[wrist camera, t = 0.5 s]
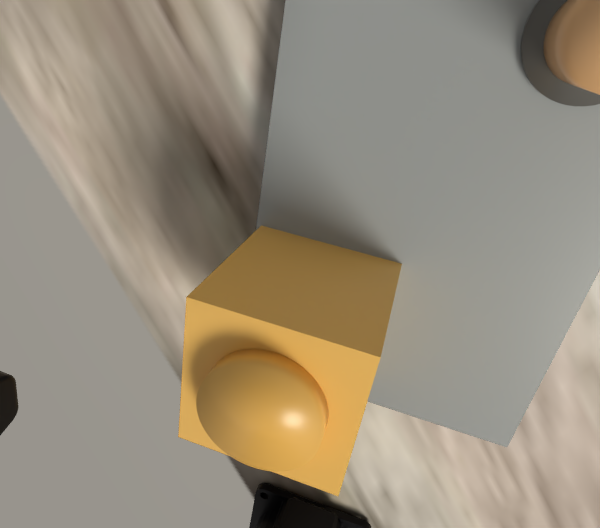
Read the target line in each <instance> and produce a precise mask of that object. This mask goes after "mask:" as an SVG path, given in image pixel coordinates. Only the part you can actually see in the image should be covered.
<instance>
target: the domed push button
mask: <svg viewBox="0 0 600 528" xmlns="http://www.w3.org/2000/svg"><path fill="white" fill-rule="evenodd" d="M401 266H402V264H401V263H398V262H394V261H390V260H387V259H383V258H379V257H376V256H372V255H368V254H365V253H361V252H357V251H353V250H350V249H346V248H342V247H339V246H335V245H331V244H328V243H324V242H320V241H317V240H313V239H309V238H306V237H302V236H298V235H295V234H291V233H287V232H284V231H280V230H276V229H273V228H269V227H265V226H262V225H261V226H260V227H259V228H258V229H257V230H256V231H255V232H254V233H253V234H252V235H251V236H250V237H249V238H248V239H247V240H246V241H245V242H244V243H242V244H241V245H240V246H239V247H238V248H237V249H236V250H235V251H234V252H233V253H232V254H231V255H230V256H229V257H228V258H227V259H226V260H225V261H224V262H223V263H222V264H221V265H220V266H218V267H217V268H216V269H215V270H214V271H213V272H212V273H211V274H210V275H209V276H208V277H207V278H206V279H205V280H204V281H203V282H202V283H201V284H200V285H199V286H198V287H197V288H195V289H194V290H193V291H192V292H191V293H190V294H189V295H188V296H187V297H186V314H185V331H184V349H183V366H182V383H181V400H180V417H179V418H180V419H179V434H178V437H180V438H182V439H185V440H188V441H191V442H193V443H196V444H199V445H201V446H204V447H207V448H209V449H212V450H215V451H218V452H221V453H223V454H225V455H228V456H231V457H232V458H234V459H235V460H237V461H239V462H241V463H243V464H246V465H248V466H251V467H254V468H257V469H261V470H266V471H271V472H274V473H277V474H279V475H282V476H285V477H287V478H290V479H293V480H296V481H298V482H301V483H304V484H306V485H309V486H312V487H314V488H317V489H320V490H322V491H325V492H328V493H331V494H333V495H336V496H339V492H340V489H341V486H342V483H343V479H344V476H345V473H346V469H347V466H348V463H349V460H350V456H351V453H352V450H353V447H354V443H355V440H356V437H357V433H358V430H359V427H360V424H361V420H362V417H363V414H364V411H365V407H366V404H367V401H368V397H369V394H370V391H371V388H372V384H373V381H374V378H375V375H376V371H377V368H378V365H379V361H380V358H381V354H382V350H383V345H384V341H385V336H386V332H387V328H388V323H389V319H390V314H391V310H392V306H393V301H394V297H395V292H396V288H397V284H398V279H399V275H400V271H401Z"/></svg>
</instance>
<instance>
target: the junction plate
mask: <svg viewBox="0 0 600 528" xmlns="http://www.w3.org/2000/svg"><path fill="white" fill-rule="evenodd" d="M261 225H262V226H265V227H269V228H273V229H276V230H280V231H284V232H287V233H291V234H295V235H298V236H302V237H306V238H309V239H313V240H317V241H320V242H324V243H328V244H331V245H335V246H339V247H342V248H346V249H350V250H353V251H357V252H361V253H365V254H368V255H372V256H376V257H379V258H383V259H387V260H390V261H394V262H398V263H401V264H402V266H401V271H400V275H399V279H398V284H397V288H396V292H395V297H394V301H393V306H392V310H391V314H390V319H389V323H388V328H387V332H386V336H385V341H384V345H383V350H382V354H381V358H380V361H379V365H378V368H377V371H376V375H375V378H374V381H373V384H372V388H371V391H370V394H369V397H368V402H371V403H374V404H377V405H380V406H383V407H386V408H389V409H392V410H395V411H398V412H401V413H404V414H407V415H410V416H413V417H416V418H419V419H422V420H425V421H428V422H431V423H434V424H438V425H441V426H444V427H447V428H450V429H453V430H456V431H459V432H462V433H465V434H468V435H471V436H474V437H477V438H480V439H483V440H486V441H489V442H492V443H495V444H498V445H501V446H504V447H508V445H509V443H510V441H511V439H512V437H513V435H514V433H515V431H516V429H517V427H518V425H519V424H520V422H521V420H522V418H523V416H524V414H525V412H526V410H527V408H528V406H529V404H530V402H531V401H532V399H533V397H534V395H535V393H536V391H537V389H538V387H539V385H540V383H541V381H542V379H543V378H544V376H545V374H546V372H547V370H548V368H549V366H550V364H551V362H552V360H553V358H554V356H555V355H556V353H557V351H558V349H559V347H560V345H561V343H562V341H563V339H564V337H565V335H566V333H567V332H568V330H569V328H570V326H571V324H572V322H573V320H574V318H575V316H576V314H577V312H578V311H579V309H580V307H581V305H582V303H583V301H584V299H585V297H586V295H587V293H588V291H589V289H590V288H591V286H592V284H593V282H594V280H595V278H596V276H597V274H598V272H599V270H600V0H285V8H284V16H283V24H282V31H281V39H280V47H279V55H278V62H277V70H276V78H275V86H274V93H273V101H272V109H271V117H270V124H269V132H268V140H267V148H266V155H265V163H264V171H263V179H262V186H261V194H260V202H259V210H258V217H257V225H256V230H257V229H258V228H259V227H260V226H261Z"/></svg>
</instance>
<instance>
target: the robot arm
mask: <svg viewBox="0 0 600 528" xmlns="http://www.w3.org/2000/svg"><path fill="white" fill-rule="evenodd" d="M17 411H18V399H17V390H16V382H15V379H14V378H13V376H12V375H9V374H7V373H4V372H1V371H0V435H1V434H2V433H3V431H4V430H5V429H6V428H7V427H8V425H9V424H10V423H11V422H12V420H13V419H14V417H15V416H16V414H17ZM250 528H371V525H370V524H369V523H368V522H366V521H365V520H362V519H359V518H357V517H354V516H351V515H349V514H346V513H344V512H341V511H338V510H336V509H333V508H330V507H328V506H325V505H322V504H320V503H317V502H314V501H312V500H309V499H306V498H304V497H301V496H298V495H296V494H293V493H290V492H288V491H285V490H282V489H280V488H277V487H275V486H272V485H269V484H266V483H262V484H260V485H259V487H258V489H257V491H256V495H255V500H254V506H253V512H252V517H251V522H250Z"/></svg>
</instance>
